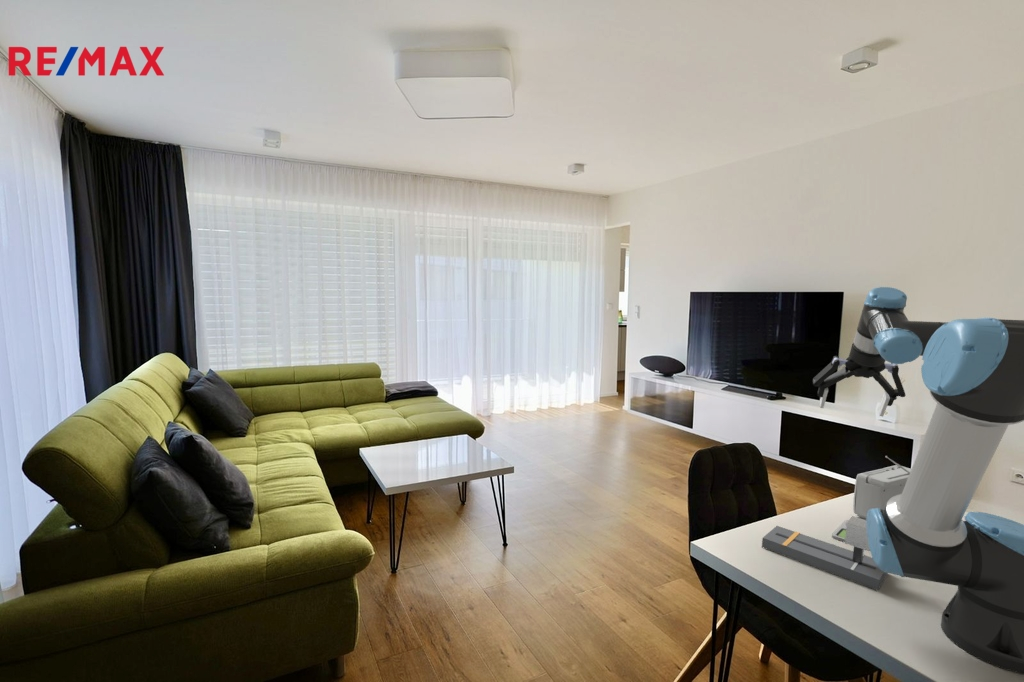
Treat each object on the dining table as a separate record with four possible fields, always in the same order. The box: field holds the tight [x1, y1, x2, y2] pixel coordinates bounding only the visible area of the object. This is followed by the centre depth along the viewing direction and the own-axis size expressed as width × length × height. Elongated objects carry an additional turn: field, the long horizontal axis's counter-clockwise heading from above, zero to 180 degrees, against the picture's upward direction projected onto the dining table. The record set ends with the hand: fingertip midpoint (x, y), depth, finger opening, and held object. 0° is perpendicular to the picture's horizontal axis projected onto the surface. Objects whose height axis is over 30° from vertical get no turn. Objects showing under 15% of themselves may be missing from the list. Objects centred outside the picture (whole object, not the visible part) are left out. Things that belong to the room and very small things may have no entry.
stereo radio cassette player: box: [852, 455, 912, 520], centre depth 143 cm, size 21×8×20 cm, turn 115°
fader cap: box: [844, 515, 870, 563], centre depth 112 cm, size 4×5×9 cm
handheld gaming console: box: [831, 519, 871, 552], centre depth 131 cm, size 10×2×15 cm
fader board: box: [761, 525, 889, 591], centre depth 118 cm, size 24×10×3 cm, turn 43°
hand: (850, 408), depth 133 cm, fingers open, 13 cm apart
